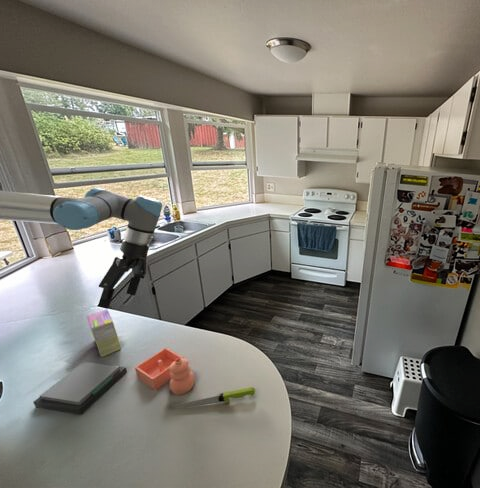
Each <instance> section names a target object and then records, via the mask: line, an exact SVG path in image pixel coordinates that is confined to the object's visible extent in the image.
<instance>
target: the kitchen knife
mask: <svg viewBox="0 0 480 488" xmlns="http://www.w3.org/2000/svg"><path fill="white" fill-rule="evenodd" d="M255 393H256V389H255V388H254V387H252V386H251V387H247V388H241V389H236V390H231V391H226V392H223V393H222V392H221V393H219V395H216V396H209V397H205V398H200V399H195V400H191V401H186V402H181V403H176V404H170V407H172V408H176V409H187V408H193V407H194V408H195V407H201V406H207V405H212V404H219V403H225V404H229V402H230V399H241V398H243V397H246V396H251V397H253V396H255Z"/></svg>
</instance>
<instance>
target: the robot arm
mask: <svg viewBox="0 0 480 488" xmlns="http://www.w3.org/2000/svg"><path fill="white" fill-rule="evenodd" d="M162 209H163V202H161V201H159V200H158V199H155V198H152V197H148V196H145V195H137V196H136V198H131V197H127V196H125V195H121V194H118V193H116V192H112V191H111V190H108V189H103V188H99V187H92V188H90V189H89V190H88V191H87V192H86V193H85V195H84V197H81V198H78V197H66V196H57V195H49V194H40V193H39V194H38V193H29V192H19V191H11V190H10V191H9V190H1V189H0V221H14V222H27V223H39V224H40V223H41V224H49V225H59V226H60V227H62V228H64V229H67V230H69V231H79V230H84V229H89V228H92V227H93V226H95V225H97V224H100V223H102V222H104V221H107V220H110V219H111V218H114V219H118V220H121V221H125V222H128V223H127V226H126V230H125V233H124V235H123V240H122V241H121V245H120V248H119V250H120V251H121V253H122V256H121V257H119V256H115V257H114V258H113V261H112V264H111V266H110V267H109V268H108V270H107V272H106V273H105V274H104V276H103V278H102V279H101V281H100V282H99V284H98V288H101V289H102V292H101V295H100V298H99V301H98V305H97V307H99V308H102V309H105V310H106V309H107V310H108V309H109V308H110V306H111V303H112V300H113V296H114V293H115V290H116V289H115V287H116V286H117V284H118V283H119V281H120V280H121V279H122V277H123V276H124V275H125V274H126V273H128V272H129V271H130V270H131V271H132V275H133V276H131V277H130V281H129V283H128V287H127V290H126V294H127V295H131V296H136V294H137V292H138V288H139V285H140V282H141V279H142V280H144V279H145V277H146V274H147V258H148V253H149V250H150V244H151V243H152V240H153V239H154V233H155V231H156V229H157V225H158V222H159V219H160V217H161V214H162V213H161V212H162Z"/></svg>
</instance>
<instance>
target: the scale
mask: <svg viewBox="0 0 480 488" xmlns="http://www.w3.org/2000/svg"><path fill="white" fill-rule="evenodd" d="M127 373H128V370H127V367H126V366H118V365H112V364H105V363H97V362H91V361H84V362H83V363H81V364H80V365H78V366H77V367H76V368H74V369H73V370H71V371H70V372H69V373H68V374H66V375H65V376H63V377H62V378H61V379H60V380H58V381H57V382H56V383H54V384H53V385H52V386H50V387H49V388H48V389H46V390H45V391H43V392H42V393H41V394H39V396H38V397H37V398H36V399H35V400H33V404H34V407H35V408H37V409H44V410H49V411H55V412H63V413H68V414H74V415H81V416H83V414H84V413H85V412H86V411H88V409H90V407H92V405H94V404H95V403H97V401H98V400H100V398H101V397H102V396H104V395H105V393H107V392H108V391H109V390H110V389H111V388H112V387H113V386H114V385H115V384H116V383H117V382H118V381H120V380H121V379H122V378H123V377H124V376H125V375H126V374H127Z"/></svg>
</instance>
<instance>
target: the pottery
mask: <svg viewBox="0 0 480 488" xmlns="http://www.w3.org/2000/svg"><path fill="white" fill-rule="evenodd" d="M189 364H190V362H189V360H188V359H187V358H184V357H183V356H181V355H179V354H178V353H176V352H174V351H172V350H171V349H169V348H168V347H164V348H163V349H161V350H160V351H158V352H157V353H155V354H153V355H152V356H150V357H149V358H147V359H145V360H144V361H142V362H141V363H139V364H138V365H136V366H135V367H134V369H135V374H136V376H137V379H138V380H139V381H142V382H143V383H144V384H146V385H147V386H149V387H151V388H152V389H153V390H154V391H156V390H158V389H159V388H160V387H162V386H163V385H165V384H166V383H167V382H168V381H170V382H169V389H170V391H171V392H172V393H173V394H174V395H177V396H179V395H183V394H186V393H188V392H189V391H191V389H193V387H194V385H195V380H196V376H195V374H194V373H193V371H191V366H190V365H189Z"/></svg>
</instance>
